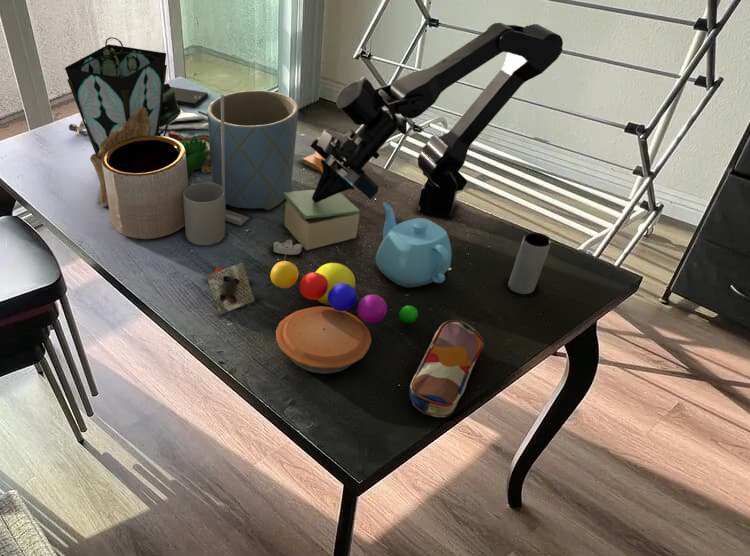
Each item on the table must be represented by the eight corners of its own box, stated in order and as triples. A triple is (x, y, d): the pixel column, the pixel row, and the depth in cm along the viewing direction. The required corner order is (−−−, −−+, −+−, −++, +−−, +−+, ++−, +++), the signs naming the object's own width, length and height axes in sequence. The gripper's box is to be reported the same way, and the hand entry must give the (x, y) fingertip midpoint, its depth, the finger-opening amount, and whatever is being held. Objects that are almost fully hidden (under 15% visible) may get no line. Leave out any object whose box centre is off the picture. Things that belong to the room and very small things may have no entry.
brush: (211, 83, 134) (252, 93, 129) (214, 206, 152) (249, 218, 148) (200, 90, 132) (241, 99, 127) (204, 214, 150) (239, 226, 146)
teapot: (409, 190, 131) (479, 232, 119) (400, 237, 138) (465, 281, 126) (357, 209, 127) (424, 254, 115) (350, 256, 135) (413, 303, 123)
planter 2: (198, 207, 152) (194, 121, 139) (225, 169, 165) (224, 86, 151) (280, 220, 146) (284, 131, 133) (302, 178, 159) (308, 94, 145)
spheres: (285, 282, 130) (260, 292, 115) (299, 245, 128) (275, 250, 113) (411, 332, 122) (401, 349, 108) (428, 293, 120) (421, 305, 105)
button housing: (353, 168, 161) (354, 156, 159) (331, 177, 159) (332, 165, 157) (323, 154, 168) (324, 142, 165) (302, 163, 165) (303, 151, 163)
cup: (230, 228, 145) (230, 186, 139) (216, 248, 140) (215, 205, 133) (195, 221, 148) (192, 179, 142) (179, 240, 143) (176, 198, 136)
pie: (388, 355, 113) (392, 332, 109) (320, 397, 107) (323, 375, 103) (322, 311, 123) (324, 289, 119) (257, 347, 116) (257, 325, 113)
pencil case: (419, 307, 112) (410, 328, 115) (411, 395, 99) (402, 416, 103) (488, 322, 110) (477, 343, 114) (489, 414, 97) (476, 434, 101)
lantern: (173, 155, 172) (164, 30, 152) (136, 184, 162) (121, 54, 142) (121, 143, 179) (105, 22, 159) (82, 170, 169) (60, 44, 149)
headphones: (187, 144, 171) (134, 148, 185) (199, 93, 171) (145, 101, 185) (151, 122, 161) (98, 129, 175) (163, 68, 161) (109, 79, 175)
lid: (305, 218, 132) (305, 216, 132) (282, 194, 140) (283, 192, 139) (359, 213, 136) (360, 210, 135) (334, 190, 143) (335, 187, 143)
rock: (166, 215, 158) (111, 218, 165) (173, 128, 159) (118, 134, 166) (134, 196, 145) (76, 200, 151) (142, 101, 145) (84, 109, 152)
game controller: (299, 243, 139) (299, 232, 137) (309, 276, 131) (310, 265, 129) (271, 245, 139) (272, 234, 138) (279, 278, 131) (280, 267, 129)
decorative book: (143, 159, 167) (143, 139, 164) (202, 145, 175) (203, 126, 171) (171, 182, 159) (172, 162, 156) (232, 167, 167) (234, 147, 163)
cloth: (127, 114, 192) (126, 106, 191) (165, 100, 198) (165, 92, 197) (184, 143, 177) (183, 134, 175) (224, 126, 182) (223, 118, 181)
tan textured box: (206, 275, 122) (193, 279, 127) (219, 314, 123) (206, 316, 128) (242, 262, 125) (228, 266, 130) (255, 300, 126) (240, 302, 131)
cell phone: (194, 106, 194) (194, 103, 193) (140, 97, 200) (140, 94, 200) (208, 95, 199) (208, 92, 199) (155, 87, 206) (155, 84, 205)
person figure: (121, 141, 180) (120, 129, 178) (66, 142, 181) (64, 130, 179) (126, 125, 189) (125, 113, 187) (73, 125, 190) (71, 114, 188)
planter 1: (202, 204, 152) (198, 138, 142) (173, 247, 141) (166, 180, 130) (131, 194, 158) (122, 131, 147) (98, 236, 147) (85, 170, 136)
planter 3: (536, 295, 122) (554, 247, 115) (509, 293, 123) (525, 245, 116) (532, 280, 125) (549, 232, 118) (506, 278, 126) (521, 231, 119)
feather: (143, 127, 157) (150, 124, 156) (189, 128, 182) (195, 125, 181) (146, 134, 157) (153, 131, 157) (191, 134, 182) (197, 131, 181)
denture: (176, 146, 178) (150, 152, 174) (175, 129, 176) (149, 136, 172) (188, 150, 174) (162, 157, 170) (187, 134, 172) (161, 140, 168)
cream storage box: (306, 250, 137) (308, 226, 133) (284, 225, 145) (285, 201, 141) (356, 237, 140) (359, 213, 136) (332, 213, 147) (334, 190, 143)
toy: (207, 215, 155) (235, 163, 144) (177, 220, 150) (203, 167, 139) (170, 166, 161) (193, 112, 150) (139, 169, 156) (162, 114, 145)
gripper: (322, 97, 133) (269, 161, 138) (372, 134, 120) (311, 203, 125) (354, 128, 140) (302, 187, 145) (404, 166, 126) (344, 230, 132)
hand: (313, 200), depth 137 cm, fingers closed, pressing on lid
